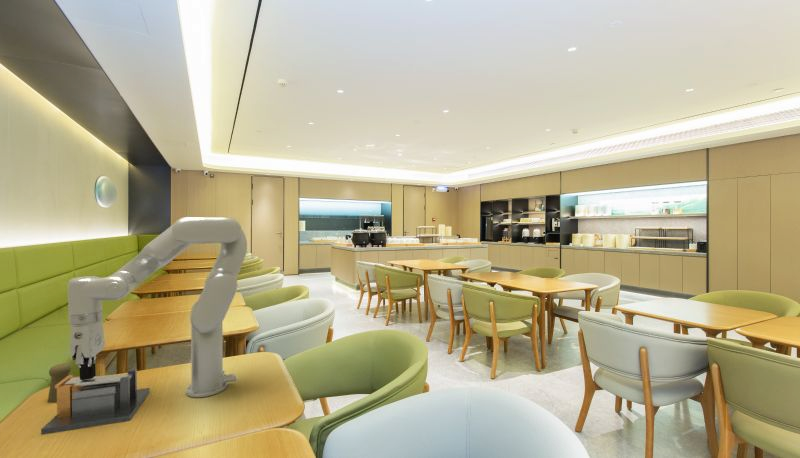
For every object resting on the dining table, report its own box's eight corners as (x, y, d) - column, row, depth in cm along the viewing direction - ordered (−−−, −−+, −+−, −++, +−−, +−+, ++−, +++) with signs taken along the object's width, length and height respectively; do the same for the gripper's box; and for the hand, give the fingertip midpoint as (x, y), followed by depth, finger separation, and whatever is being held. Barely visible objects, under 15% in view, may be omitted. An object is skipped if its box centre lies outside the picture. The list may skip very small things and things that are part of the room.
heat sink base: (149, 392, 119) (149, 360, 119) (129, 420, 102) (129, 383, 102) (75, 402, 112) (75, 368, 112) (41, 434, 96) (40, 394, 95)
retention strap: (133, 376, 112) (133, 372, 112) (128, 381, 108) (128, 378, 108) (71, 381, 106) (71, 377, 106) (64, 387, 103) (64, 383, 103)
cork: (57, 403, 112) (56, 369, 111) (42, 401, 113) (41, 367, 112) (78, 394, 117) (77, 362, 117) (63, 392, 119) (63, 360, 118)
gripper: (89, 323, 100) (91, 387, 100) (111, 310, 114) (113, 366, 114) (55, 326, 97) (57, 391, 98) (82, 313, 111) (84, 370, 112)
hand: (87, 378), depth 106 cm, fingers closed
